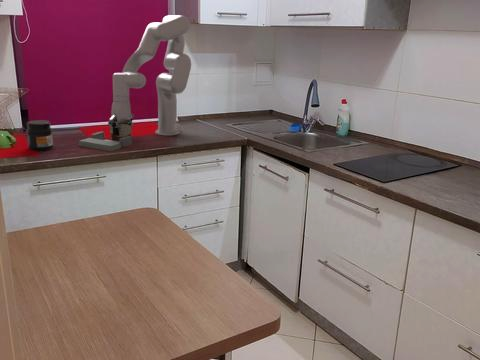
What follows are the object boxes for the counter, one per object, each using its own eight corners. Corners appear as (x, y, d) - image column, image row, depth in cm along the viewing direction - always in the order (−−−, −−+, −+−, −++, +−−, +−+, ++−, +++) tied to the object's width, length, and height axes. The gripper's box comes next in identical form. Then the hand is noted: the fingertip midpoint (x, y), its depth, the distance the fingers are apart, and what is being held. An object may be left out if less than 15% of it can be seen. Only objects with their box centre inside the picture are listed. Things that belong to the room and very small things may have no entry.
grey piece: (101, 139, 235) (101, 131, 234) (132, 144, 228) (131, 136, 227) (79, 145, 221) (78, 137, 220) (111, 151, 214) (110, 142, 213)
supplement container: (55, 149, 213) (53, 123, 209) (30, 152, 208) (28, 125, 204) (50, 144, 221) (48, 119, 218) (26, 146, 216) (23, 120, 212)
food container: (136, 139, 238) (136, 119, 235) (133, 142, 232) (132, 122, 229) (113, 137, 239) (112, 118, 236) (108, 140, 233) (107, 120, 230)
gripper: (126, 96, 238) (126, 129, 244) (103, 100, 223) (104, 135, 228) (138, 97, 236) (138, 131, 241) (116, 101, 220) (117, 137, 226)
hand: (122, 133), depth 235 cm, fingers open, 9 cm apart
